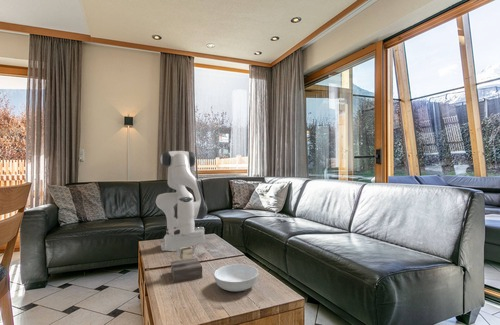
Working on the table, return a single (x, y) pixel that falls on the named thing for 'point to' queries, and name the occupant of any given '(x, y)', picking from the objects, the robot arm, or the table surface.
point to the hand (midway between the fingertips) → (186, 255)
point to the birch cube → (186, 253)
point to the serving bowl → (236, 277)
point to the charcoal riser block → (186, 270)
